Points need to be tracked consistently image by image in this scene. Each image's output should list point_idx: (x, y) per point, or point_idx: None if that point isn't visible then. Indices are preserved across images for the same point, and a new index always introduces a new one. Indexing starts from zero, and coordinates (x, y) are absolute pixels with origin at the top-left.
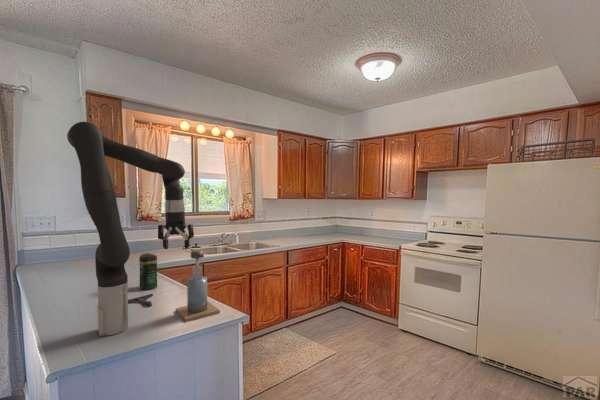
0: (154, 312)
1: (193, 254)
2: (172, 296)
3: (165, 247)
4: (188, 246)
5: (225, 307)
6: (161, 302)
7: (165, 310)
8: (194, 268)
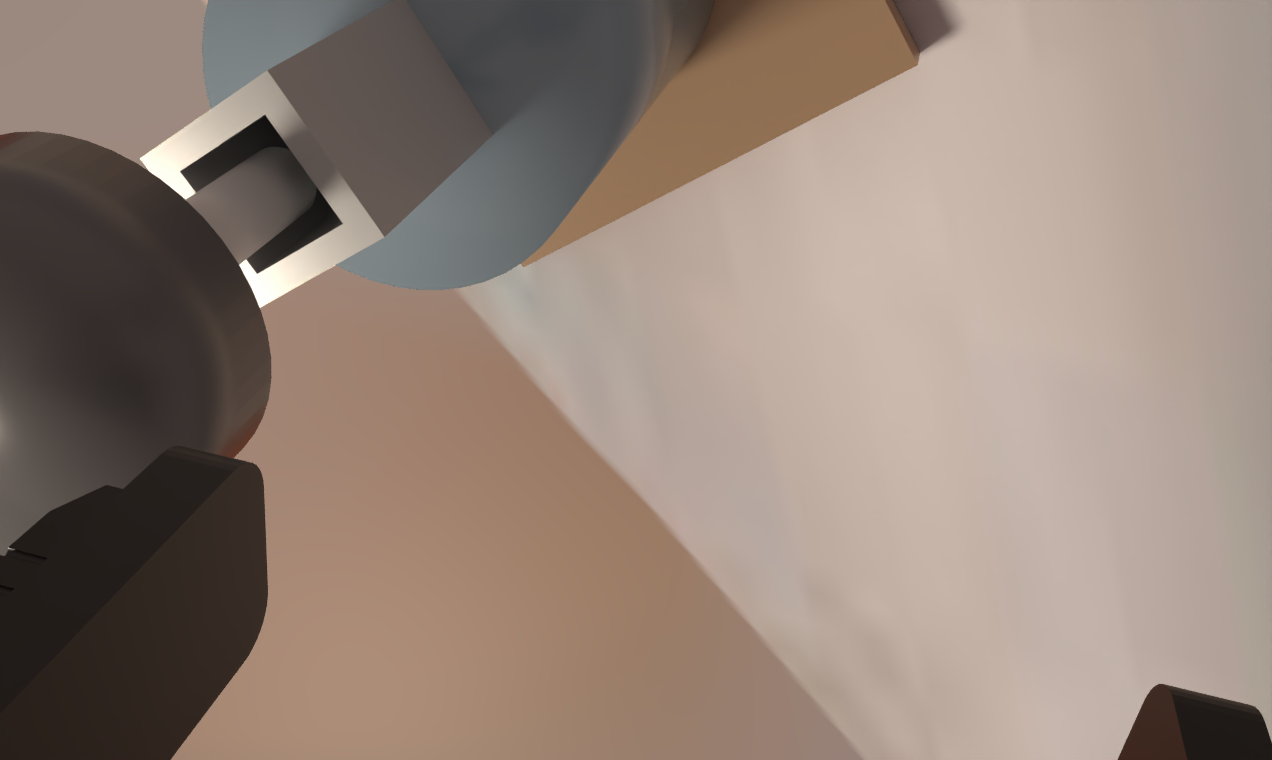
0: (1244, 64)
1: (28, 208)
2: (1065, 617)
3: (1212, 741)
4: (69, 532)
5: None
6: (1191, 440)
7: (1080, 114)
8: (290, 97)
